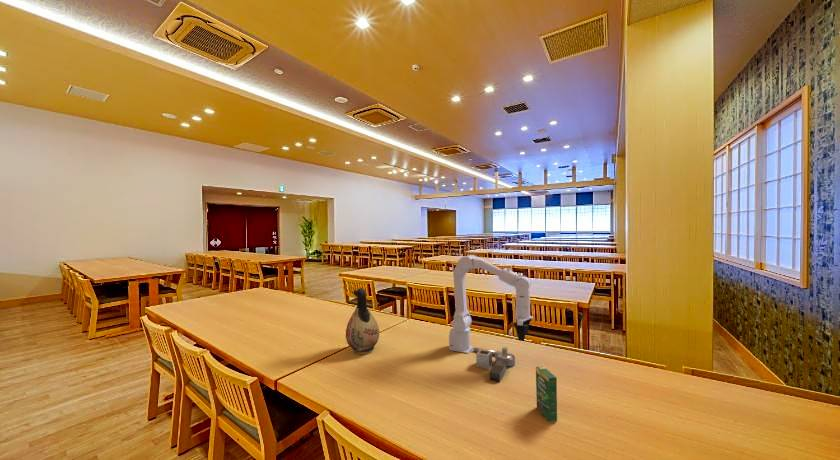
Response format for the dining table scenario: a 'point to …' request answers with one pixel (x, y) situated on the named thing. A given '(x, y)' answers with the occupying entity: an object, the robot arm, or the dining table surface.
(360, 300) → the ceramic jug
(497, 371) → the ratchet
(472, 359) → the dining table surface
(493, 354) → the bar
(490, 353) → the socket
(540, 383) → the coffee box
